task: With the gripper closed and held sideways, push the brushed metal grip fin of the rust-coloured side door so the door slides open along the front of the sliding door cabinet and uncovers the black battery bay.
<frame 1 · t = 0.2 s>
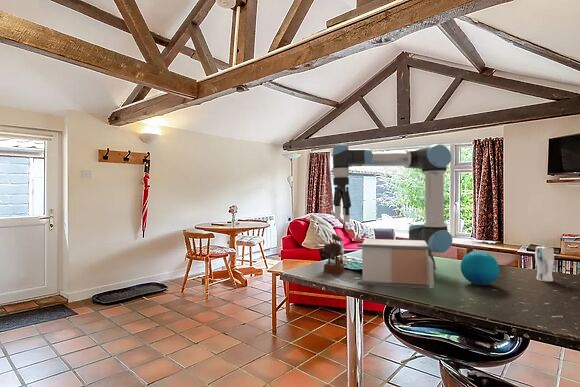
hand: (342, 220, 163), 28 cm above the breakfast bar, tool pointing down, fingers open, 13 cm apart
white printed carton: (544, 280, 154), on the breakfast bar
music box: (332, 271, 177), on the breakfast bar
sliding door cabinet: (394, 280, 156), on the breakfast bar
decorative orb: (479, 285, 148), on the breakfast bar
side door: (411, 269, 140), point 9 cm above the breakfast bar, slide at 0.0 cm
screw: (342, 264, 193), on the breakfast bar
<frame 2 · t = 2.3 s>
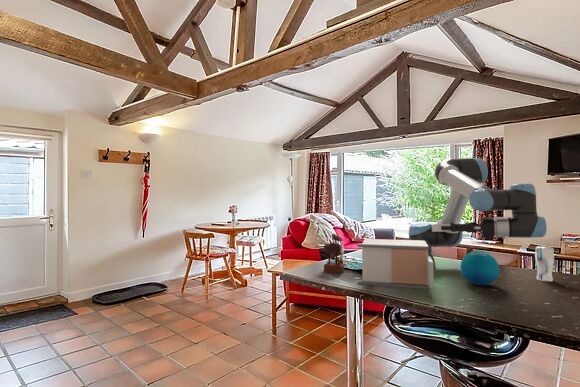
hand: (433, 227, 135), 27 cm above the breakfast bar, tool horizontal, fingers open, 13 cm apart
nothing on the breakfast bar moved.
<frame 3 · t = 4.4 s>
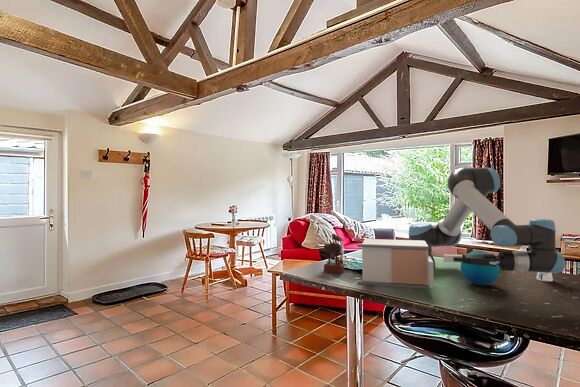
hand: (443, 258, 132), 15 cm above the breakfast bar, tool horizontal, fingers closed
nothing on the breakfast bar moved.
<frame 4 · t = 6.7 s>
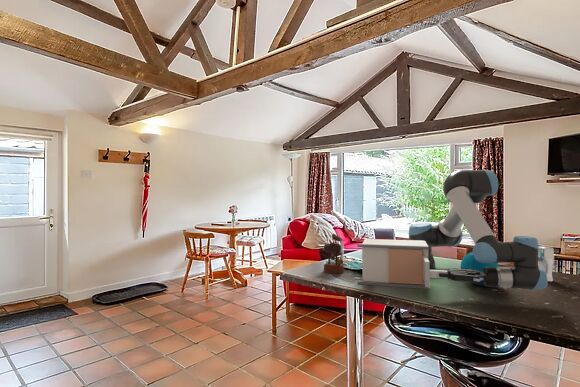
hand: (429, 273, 134), 9 cm above the breakfast bar, tool horizontal, fingers closed
side door: (407, 269, 140), point 9 cm above the breakfast bar, slide at 1.4 cm, touching gripper
everything else where it was.
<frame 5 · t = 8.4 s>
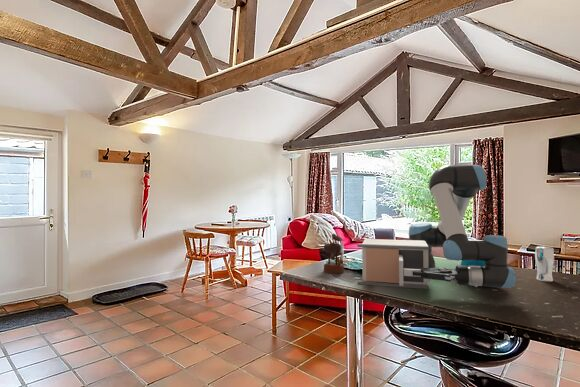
hand: (403, 272, 137), 9 cm above the breakfast bar, tool horizontal, fingers closed
side door: (383, 268, 143), point 9 cm above the breakfast bar, slide at 11.2 cm, touching gripper
everything else where it was.
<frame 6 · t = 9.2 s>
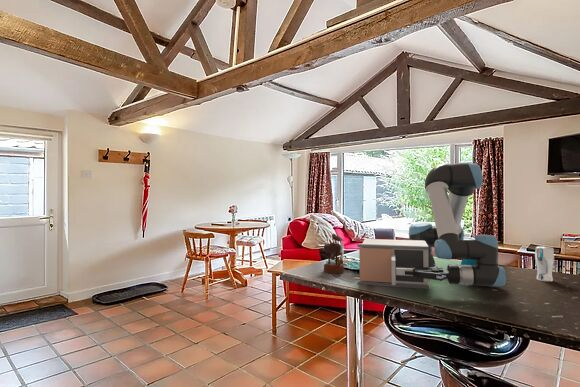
hand: (396, 271, 138), 9 cm above the breakfast bar, tool horizontal, fingers closed
side door: (376, 267, 144), point 9 cm above the breakfast bar, slide at 14.2 cm, touching gripper
everything else where it was.
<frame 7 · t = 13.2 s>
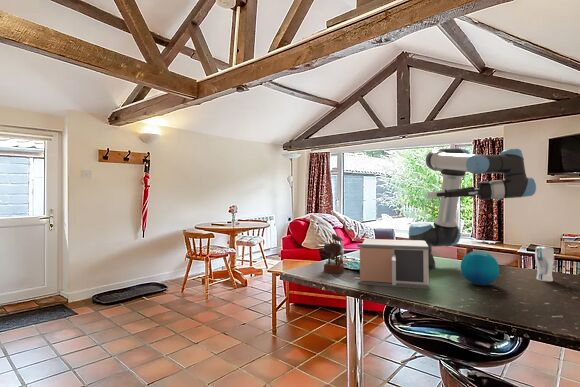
hand: (428, 195, 143), 40 cm above the breakfast bar, tool horizontal, fingers closed
side door: (376, 268, 144), point 9 cm above the breakfast bar, slide at 14.0 cm
everything else where it was.
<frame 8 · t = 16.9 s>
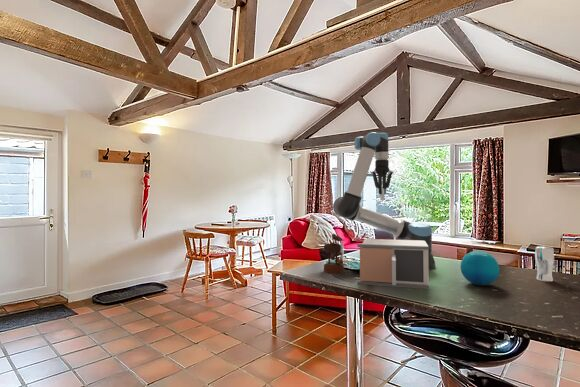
hand: (382, 199, 196), 36 cm above the breakfast bar, tool pointing down, fingers closed
nothing on the breakfast bar moved.
at the end: side door slide at 14.0 cm; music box moved 0.2 cm from its start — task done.
